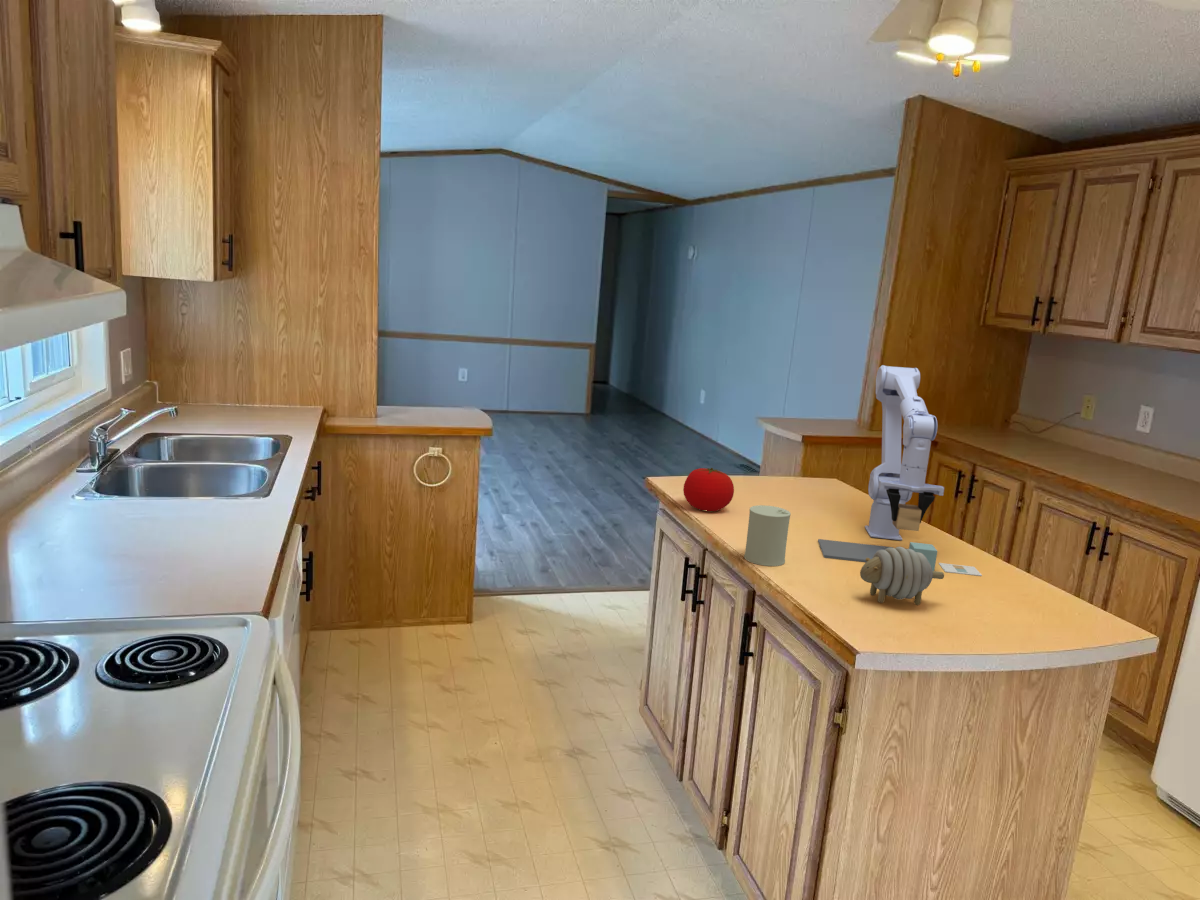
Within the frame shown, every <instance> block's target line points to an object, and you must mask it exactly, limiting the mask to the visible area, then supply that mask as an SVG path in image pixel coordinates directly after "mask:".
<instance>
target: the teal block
mask: <svg viewBox="0 0 1200 900" xmlns="http://www.w3.org/2000/svg"><path fill="white" fill-rule="evenodd" d="M908 549H912V550H914V551H915V552H920V553H922V554H923V555H924V556H925V557H926V558H927V560H928V562H929V563H930V565H931V567H932V571H935V569H936V563H937V557H938V550H937V549H936V547H935V546H934V545H933V544H931V543H930V544H929V543H922V542H913V541H910V542H909V547H908Z"/></svg>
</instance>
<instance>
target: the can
mask: <svg viewBox="0 0 1200 900" xmlns="http://www.w3.org/2000/svg"><path fill="white" fill-rule="evenodd" d="M748 515H749V516H748V522H747V523H748V524H747V525H748V526H747V534H746V542H745V543H746V544H745V550H744V555H743V558H744V560H746V561H747V562H749V563H752V564H754V565H759V566H765V567H780V566H783V565H784V564H785V563H786V551H787V549H786V548H787V541H788V535H789V527H790V519H791V511H789V510H787V509H785V508H783V507H779V506H774V505H762V504H760V505H752V506H750V507H749V513H748Z"/></svg>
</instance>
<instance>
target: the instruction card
mask: <svg viewBox="0 0 1200 900" xmlns="http://www.w3.org/2000/svg"><path fill="white" fill-rule="evenodd" d="M938 565H939V566H940V567H941V569H942V570H943V571H944V572H945V573H952V574H960V575H969V576H976V577H977V576H978V577H982V576H983V575H982V573H981V572H980V571H979V569H977V568H976V567H975V566H972V565H971V566H969V565H962V564H961V565H960V564H951V563H943V562H938Z"/></svg>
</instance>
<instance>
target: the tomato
mask: <svg viewBox="0 0 1200 900" xmlns="http://www.w3.org/2000/svg"><path fill="white" fill-rule="evenodd" d="M682 488H683V490H682V491H683V495H684V499H685V500H686V502H687V503H688V504H689V505H690V506H691V507H693V508H695V509H696V508H697V510H699V509H700V510H699V511H702V510H707V511H713V512H717V510H718V511H720V510H722V509H724V508H725V507H727V506H728V505H729V504H730V503H731V502H732V501H733V498H734V493H735V486H734V483H733V480H732V479H731V477H730V476H729V475H727V473H726V472H723V470H718V469H715V468H713V467H703V468H702V467H700V468H697V469H693V470H692V471H691V472H689V474H688V475H687V477H686V479H685V481H684V484H683V487H682ZM707 511H706V512H707Z"/></svg>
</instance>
